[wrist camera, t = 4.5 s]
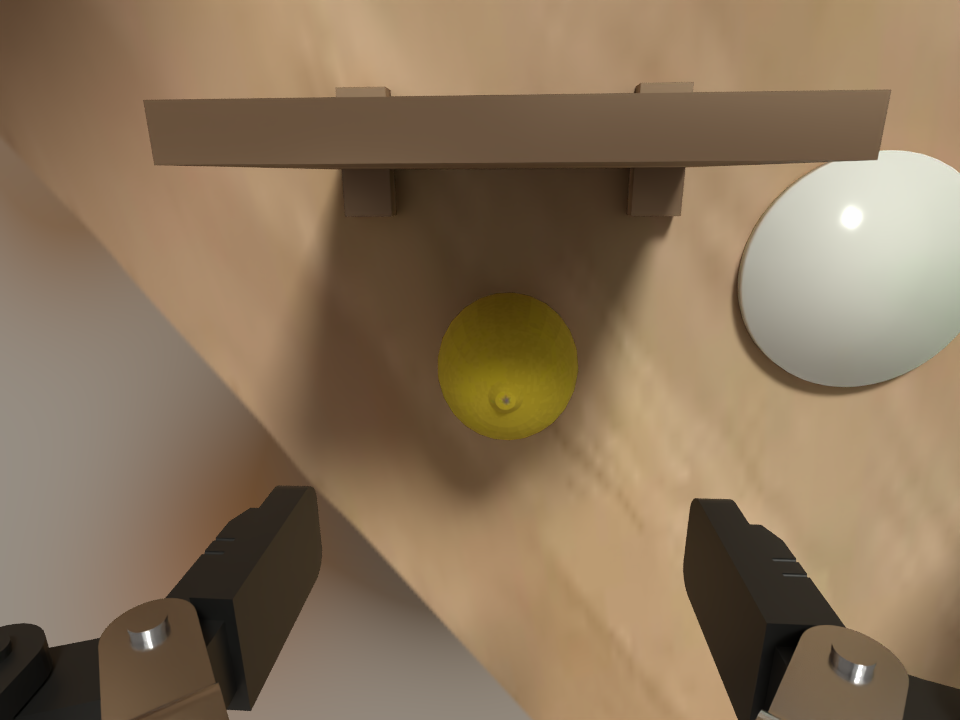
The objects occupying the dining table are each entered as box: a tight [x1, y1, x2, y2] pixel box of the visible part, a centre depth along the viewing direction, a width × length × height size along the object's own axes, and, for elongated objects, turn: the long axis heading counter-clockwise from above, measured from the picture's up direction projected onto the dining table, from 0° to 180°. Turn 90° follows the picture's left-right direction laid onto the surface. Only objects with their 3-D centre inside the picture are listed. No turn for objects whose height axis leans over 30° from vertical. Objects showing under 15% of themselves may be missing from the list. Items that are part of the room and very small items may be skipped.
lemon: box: [438, 293, 578, 440], centre depth 23 cm, size 6×6×8 cm
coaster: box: [738, 150, 960, 387], centre depth 25 cm, size 10×10×1 cm
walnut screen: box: [143, 82, 891, 216], centre depth 18 cm, size 5×14×14 cm, turn 90°
